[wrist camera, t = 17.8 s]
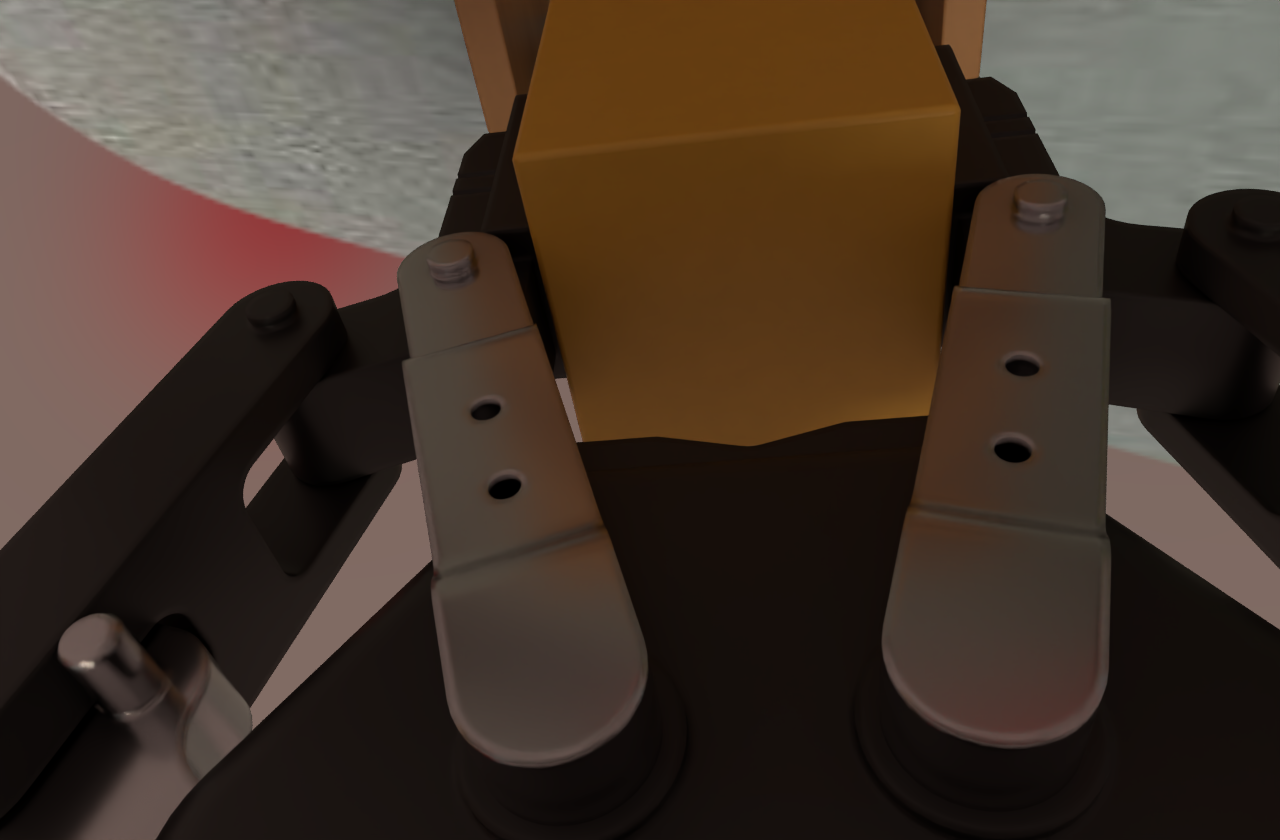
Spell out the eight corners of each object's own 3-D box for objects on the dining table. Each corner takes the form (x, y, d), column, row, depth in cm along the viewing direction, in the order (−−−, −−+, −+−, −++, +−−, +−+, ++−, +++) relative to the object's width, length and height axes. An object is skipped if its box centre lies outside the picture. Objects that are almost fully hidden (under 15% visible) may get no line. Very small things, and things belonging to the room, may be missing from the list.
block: (884, 236, 16) (935, 435, 13) (605, 264, 16) (586, 461, 13) (893, -59, 13) (963, 105, 10) (550, -13, 13) (509, 157, 10)
